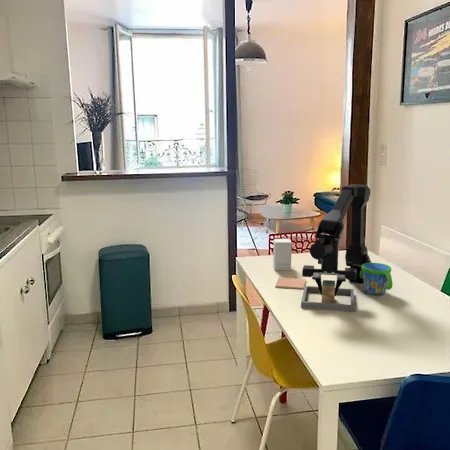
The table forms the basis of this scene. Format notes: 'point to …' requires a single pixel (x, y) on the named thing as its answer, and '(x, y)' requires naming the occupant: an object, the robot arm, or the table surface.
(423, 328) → the table surface
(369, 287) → the snack cup
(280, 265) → the supplement box
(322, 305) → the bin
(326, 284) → the oak block
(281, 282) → the tile
